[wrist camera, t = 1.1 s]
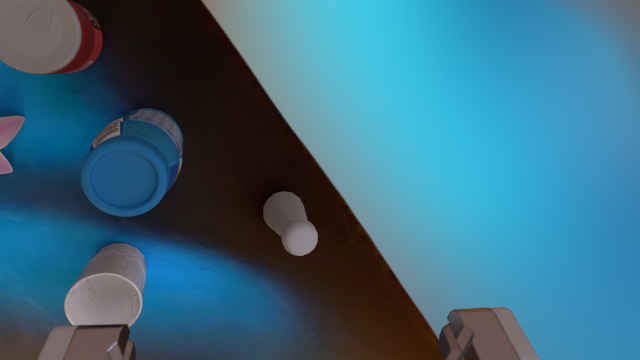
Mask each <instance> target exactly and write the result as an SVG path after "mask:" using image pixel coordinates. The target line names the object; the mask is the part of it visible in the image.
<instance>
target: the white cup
mask: <svg viewBox="0 0 640 360" xmlns="http://www.w3.org/2000/svg"><path fill="white" fill-rule="evenodd" d="M145 279H146V262H145V258H144V255H143V254H142V253H141V252H140V251H139V250H138V249H137V248H136V247H134V246H131V245H129V244H127V243H113V244H110V245H107V246H105V247H102V248H101V249H100V250H99V251H98V252H97V253H96V254H95V255H94V256H93V258H92V259H91V260H90V262H89V263H88V264H87V266H86V267H85V268H84V269H83V271H82V272H81V274H80V275H79V277H78V278H77V280H76V281H75V283H74V284H73V286H72V287H71V289H70V290H69V292H68V294H67V296H66V299H65V304H64V309H65V314H66V316H67V318H68V320H69V321H70V323H71V324H72V325H102V324H128V327H130V326H131V325H132V324H133V323H134V322H135V321H136V320H137V318H138V317H139V315H140V312H141V309H142V303H143V295H144V288H145Z"/></svg>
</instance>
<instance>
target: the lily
mask: <svg viewBox="0 0 640 360" xmlns="http://www.w3.org/2000/svg"><path fill="white" fill-rule="evenodd" d="M24 121H25V117H23V116H8V117H0V150H1V149H2V148H4V147H5V146H6V145H7V144H8V143H9V142H10V141H11V140H12V139H13V138H14V137H15V135H16V134H17V133H18V131H19V130H20V128H21V127H22V125H23V123H24ZM12 171H13V169H12V166H11V165H10V163H9V162H8V160H7V159H6V158H5V157H4V155H3V154H2V153H1V152H0V174H7V173H11V172H12Z"/></svg>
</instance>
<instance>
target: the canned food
mask: <svg viewBox="0 0 640 360" xmlns="http://www.w3.org/2000/svg"><path fill="white" fill-rule="evenodd" d="M101 48H102V32H101V29H100V26H99V24H98V22H97V21H96V19H95V18H94V16H93V15H92V14H91V13H90V12H89V11H88V10H87V9H85V8H84V7H82V6H81V5H79V4H77V3H76V2H74V1H72V0H0V60H1V61H3V62H4V63H5V64H7V65H9V66H11V67H12V68H14V69H17V70H20V71H23V72H26V73H33V74H54V73H72V72H77V71H81V70H83V69H86V68H87V67H89V66H90V65H92V64H93V63H94V61H95V60H96V59H97V58H98V56H99V54H100V52H101Z"/></svg>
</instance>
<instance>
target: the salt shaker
mask: <svg viewBox="0 0 640 360" xmlns="http://www.w3.org/2000/svg"><path fill="white" fill-rule="evenodd" d="M263 215H264V220H265V221H266V223H267V225H268V226H269V227H270V228H271V229H273V230H274V231H275V232H276V233H277V234H279V235H280V236H281V237H282V243H283V245H284V247H285V249H286V250H287V251H288V252H290V253H291V254H293V255H298V256H302V255H305V254H308V253H309V252H311V251H312V250H313V249H314V248H315V246H316V244H317V241H318V234H317V231H316V229H315V227H314V226H313V224H311V223H310V222H308V221H307V218H306V214H305V210H304V206H303V204H302V202H301V200H300V198H299V197H297V196H296V195H295V194H293V193H292V192H284V191H282V192H278V193H275V194H273V195H272V196H271V197H270V198H269V199H268V200H267V201H266V203H265V205H264V207H263Z"/></svg>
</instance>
